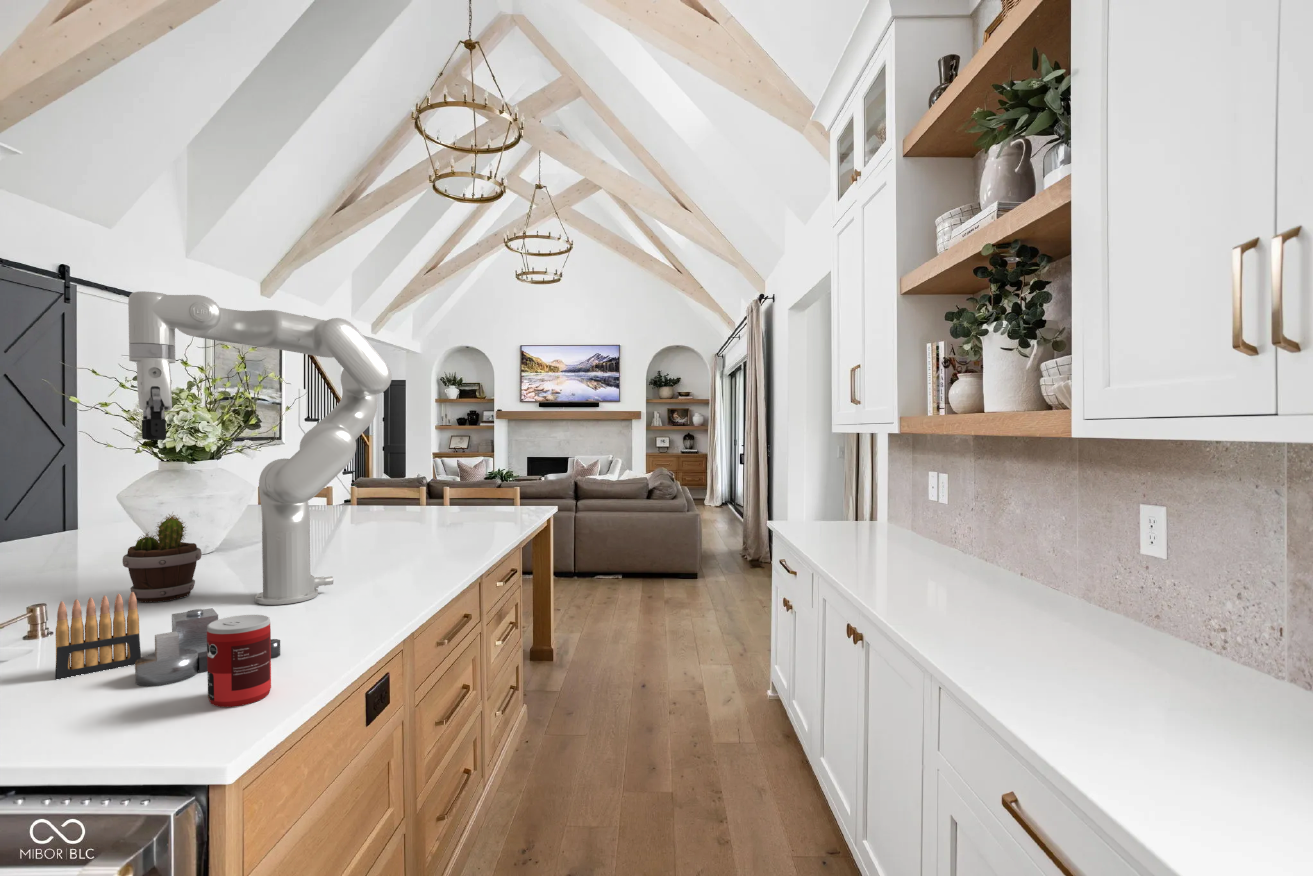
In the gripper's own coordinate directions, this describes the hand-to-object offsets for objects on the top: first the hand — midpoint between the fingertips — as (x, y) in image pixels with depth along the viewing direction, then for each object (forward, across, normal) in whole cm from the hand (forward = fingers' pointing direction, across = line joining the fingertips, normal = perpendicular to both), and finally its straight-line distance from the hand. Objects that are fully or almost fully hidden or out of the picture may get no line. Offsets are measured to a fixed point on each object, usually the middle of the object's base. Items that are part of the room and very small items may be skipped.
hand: (153, 439), depth 138 cm
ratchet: (+36, -40, -4) cm, 55 cm away
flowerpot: (+37, +20, -3) cm, 42 cm away
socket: (+36, -30, -3) cm, 47 cm away
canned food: (+37, -57, -6) cm, 68 cm away
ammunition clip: (+37, -30, +10) cm, 48 cm away
